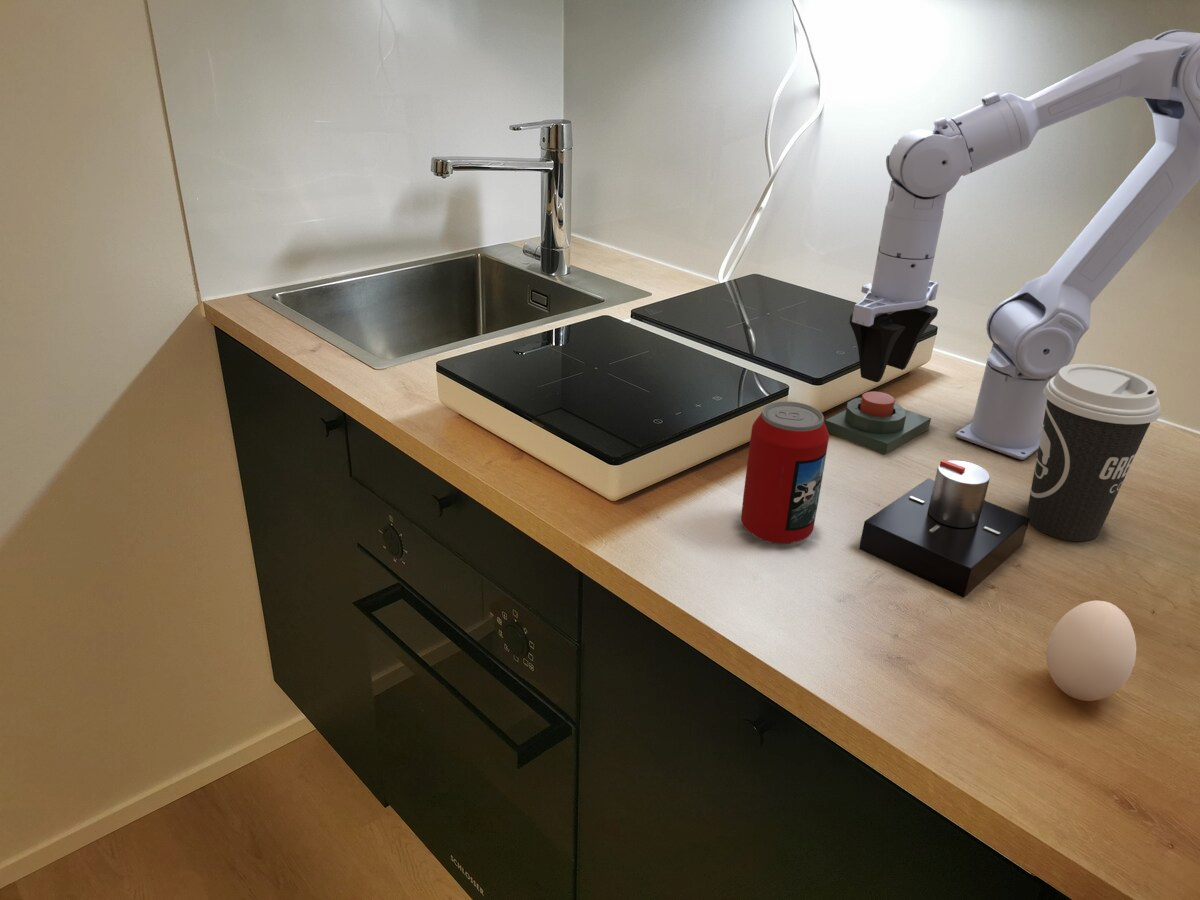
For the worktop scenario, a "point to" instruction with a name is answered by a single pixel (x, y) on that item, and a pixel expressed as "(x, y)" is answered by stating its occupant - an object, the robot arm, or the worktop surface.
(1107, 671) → the egg
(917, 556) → the panel
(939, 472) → the knob
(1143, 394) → the coffee cup
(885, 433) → the button block
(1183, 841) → the worktop surface
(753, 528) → the beverage can
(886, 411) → the button
